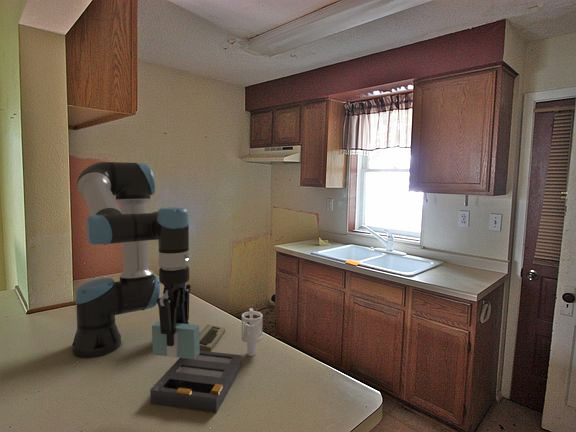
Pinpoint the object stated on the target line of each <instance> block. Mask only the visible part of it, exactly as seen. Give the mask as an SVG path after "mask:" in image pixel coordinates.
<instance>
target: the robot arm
mask: <svg viewBox="0 0 576 432" xmlns="http://www.w3.org/2000/svg"><path fill="white" fill-rule="evenodd" d="M76 187H77V190H78V192H79V194H80V195H81V196H82V197H83V198H84V200H85V202H86V205H87V208H88V213H89V216H88V217H87V218H86V221H85V226H86V227H85V229H86V231H85V232H86V238H87V241H88V243H89V244H90V245H93V246H94V245H110V244H111V245H112V244H121V243H122V258H123V260H122V261H123V271H122V272H121V274H120V275H119V280H118V281H115V280H114V279H113V278H110V277H101V278H96V279H92V280H88V281H86V282H83V283H82V284H80V285H79V286H78V287H77V288H76V291H75V304H76V305H75V306H76V307H75V308H76V310H75V311H76V331H75V334H74V338H73V341H72V344H71V352H72V354H73V355H74V356H76V357H79V358H96V357H100V356H104V355H106V354H109V353H112V352H113V351H115V350H117V349H118V348H119V347H120V346H121V345H122V335H121V333H120V332H119V329H118V326H117V323H116V316H118V315H124V314H128V313H134V312H139V311H145V310H148V309H152V308H154V307H156V306H157V305H158V313H159V321H160V330H161V334H166V336H167V356H166V357H171V358H178V357H177V356H178V336H177V332H175V331H176V323H182V324H188V323H189V319H190V293H191V286H192V285H190V284H186V283H187V282H189V281H190V267H189V265H190V258H191V256H190V252H189V248H190V238H189V237H190V235H189V232H190V231H189V230H190V229H189V227H190V226H189V225H190V220H189V219H190V218H189V211H188V210H187V208H185V207H177V206H176V207H173V206H172V207H171V206H169V207H161V208H159V209H158V210H157V211H154V212H148V211H147V204H148V203H149V202H150V201H151V196H153V195H154V194H155V193H156V180H155V176H154V172H153V170H152V167H150V166H149V165H148V164H146V163H140V162H121V161H120V162H116V161H113V162H111V161H110V162H109V161H100V162H99V161H98V162H95V163H93V164H91V165H89V166H87V167H86V168H84V169H83V170H81V172H80V173H79V175H78V177H77V180H76ZM118 204H119V205H120V207H119V205H118ZM149 241H158V267H159V270H158V274H159V275H158V276H157V275H155V272H154V271H153V270H151V269H150V254H149ZM161 284H162V285H163V290H162V294H163V295H162V296H161V297H160V295H161ZM186 321H188V322H186Z"/></svg>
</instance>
